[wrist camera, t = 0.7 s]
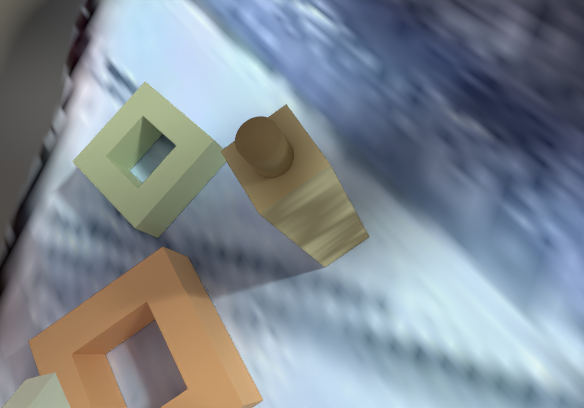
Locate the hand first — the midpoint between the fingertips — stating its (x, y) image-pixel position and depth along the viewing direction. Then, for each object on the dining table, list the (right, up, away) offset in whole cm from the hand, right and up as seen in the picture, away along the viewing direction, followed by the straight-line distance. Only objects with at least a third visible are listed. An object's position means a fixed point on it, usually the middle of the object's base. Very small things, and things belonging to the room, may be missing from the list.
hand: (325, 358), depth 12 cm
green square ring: (-11, +7, +26) cm, 29 cm away
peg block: (+2, +2, +21) cm, 21 cm away
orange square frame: (-10, -7, +21) cm, 24 cm away
